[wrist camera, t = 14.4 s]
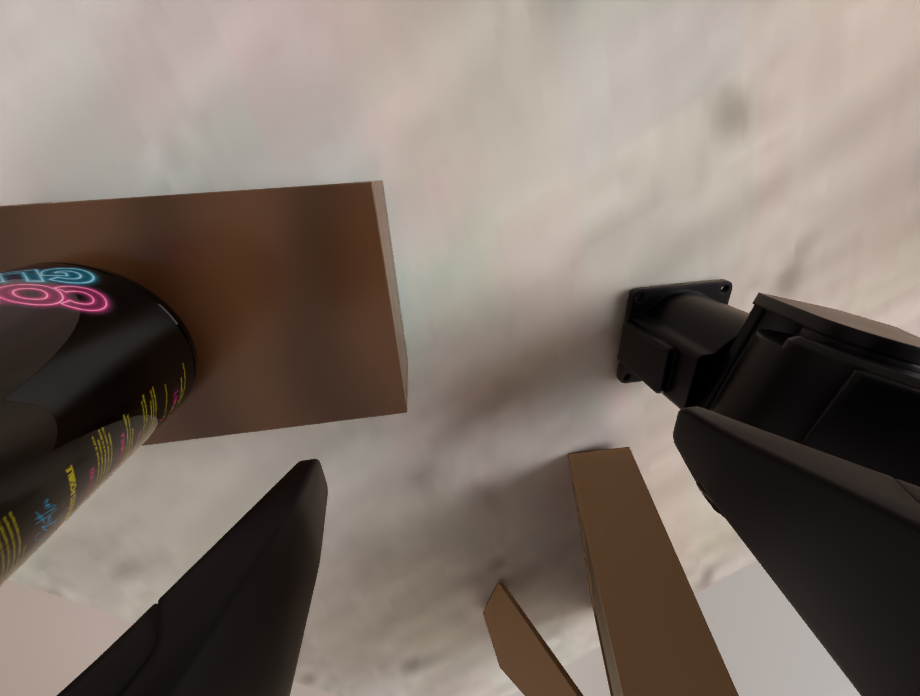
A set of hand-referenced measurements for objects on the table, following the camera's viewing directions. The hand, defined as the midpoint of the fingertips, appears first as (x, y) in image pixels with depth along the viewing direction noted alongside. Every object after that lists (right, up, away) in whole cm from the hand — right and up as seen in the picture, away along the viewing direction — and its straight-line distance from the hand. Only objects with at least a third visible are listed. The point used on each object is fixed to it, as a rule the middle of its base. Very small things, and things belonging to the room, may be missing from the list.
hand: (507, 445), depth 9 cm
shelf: (-13, +5, +10) cm, 17 cm away
